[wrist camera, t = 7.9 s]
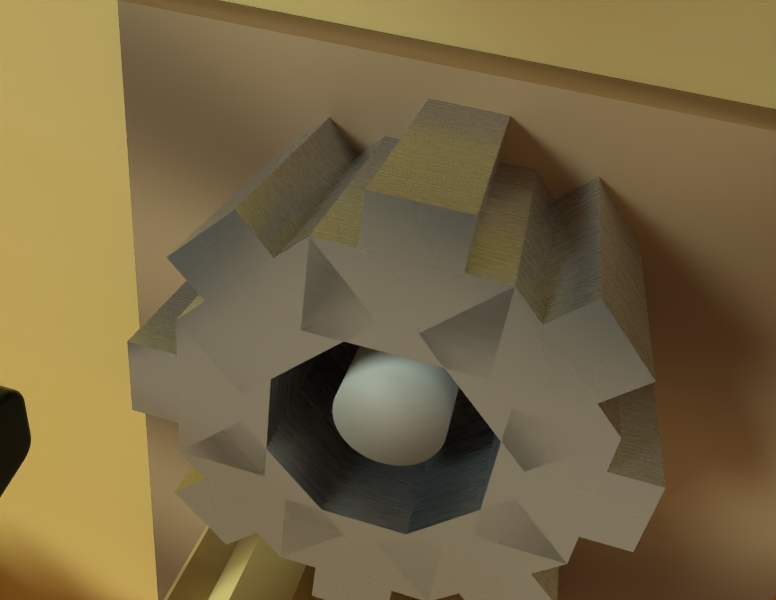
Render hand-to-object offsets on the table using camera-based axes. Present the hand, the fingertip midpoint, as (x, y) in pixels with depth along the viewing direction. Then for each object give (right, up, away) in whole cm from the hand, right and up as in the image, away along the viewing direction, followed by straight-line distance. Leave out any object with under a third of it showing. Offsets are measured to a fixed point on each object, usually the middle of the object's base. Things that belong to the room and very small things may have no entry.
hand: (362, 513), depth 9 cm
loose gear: (+1, +2, +4) cm, 5 cm away
